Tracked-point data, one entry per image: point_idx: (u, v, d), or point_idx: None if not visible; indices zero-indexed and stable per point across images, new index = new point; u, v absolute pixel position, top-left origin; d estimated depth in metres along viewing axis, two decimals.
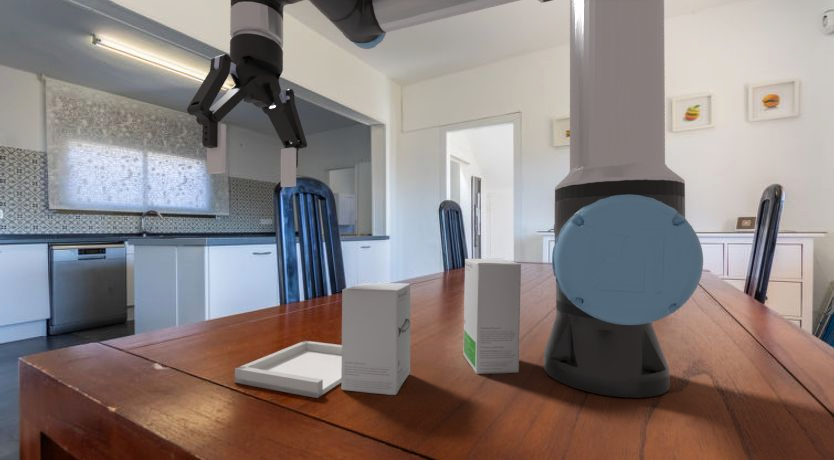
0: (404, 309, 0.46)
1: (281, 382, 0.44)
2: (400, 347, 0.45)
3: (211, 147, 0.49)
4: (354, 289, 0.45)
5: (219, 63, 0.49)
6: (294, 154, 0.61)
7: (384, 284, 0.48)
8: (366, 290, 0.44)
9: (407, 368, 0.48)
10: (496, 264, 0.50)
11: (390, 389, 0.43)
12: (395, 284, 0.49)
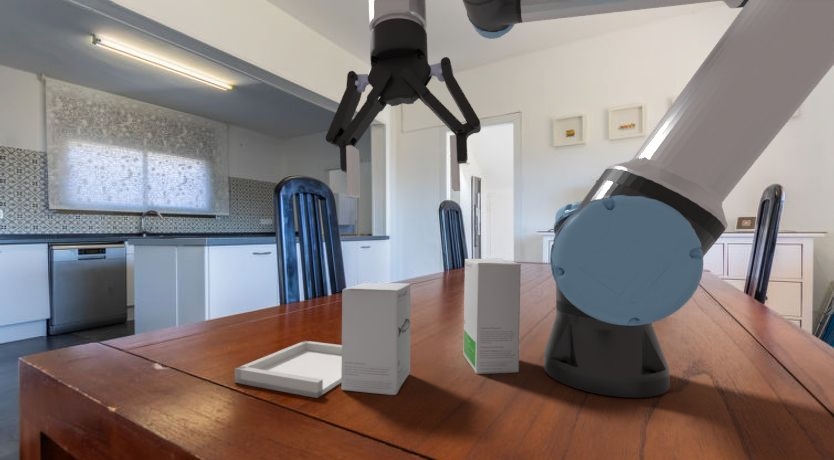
0: (404, 309, 0.46)
1: (281, 382, 0.44)
2: (400, 347, 0.45)
3: None
4: (354, 289, 0.45)
5: None
6: (452, 144, 0.44)
7: (384, 284, 0.49)
8: (366, 290, 0.44)
9: (407, 368, 0.48)
10: (496, 264, 0.50)
11: (390, 389, 0.43)
12: (395, 284, 0.49)
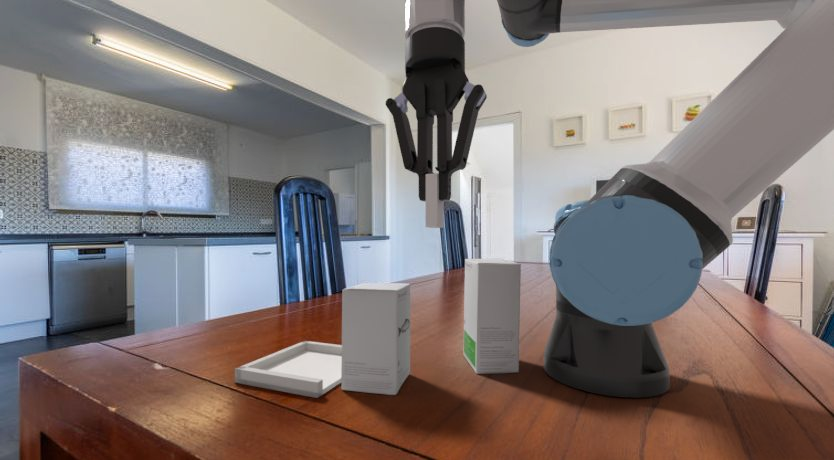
0: (404, 309, 0.46)
1: (281, 382, 0.44)
2: (400, 347, 0.45)
3: None
4: (354, 289, 0.45)
5: None
6: (433, 182, 0.44)
7: (384, 284, 0.48)
8: (366, 290, 0.44)
9: (407, 368, 0.48)
10: (496, 264, 0.50)
11: (390, 389, 0.43)
12: (395, 284, 0.49)
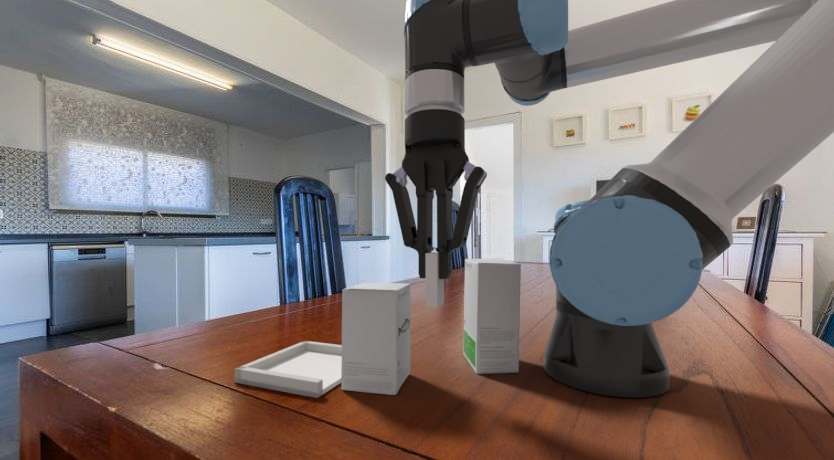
0: (404, 309, 0.46)
1: (281, 382, 0.44)
2: (400, 347, 0.45)
3: None
4: (354, 289, 0.45)
5: None
6: (433, 262, 0.43)
7: (384, 284, 0.49)
8: (366, 290, 0.44)
9: (407, 368, 0.48)
10: (496, 264, 0.50)
11: (390, 389, 0.43)
12: (395, 284, 0.49)
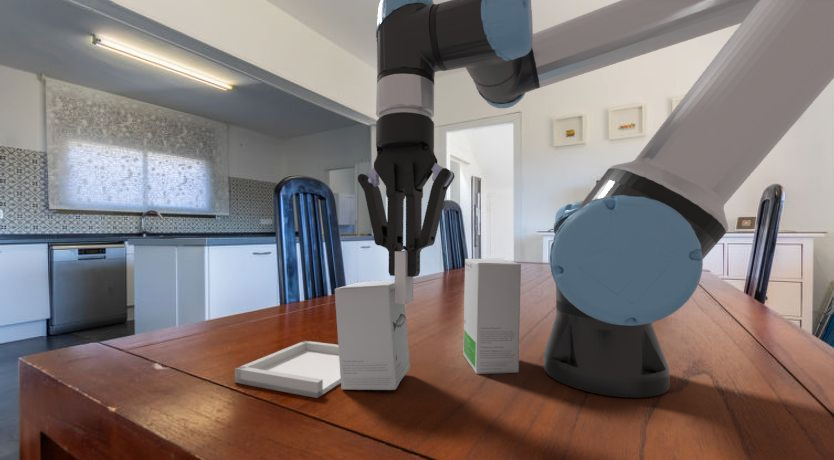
0: (398, 304, 0.47)
1: (281, 382, 0.44)
2: (397, 342, 0.45)
3: None
4: (346, 288, 0.45)
5: None
6: (402, 260, 0.45)
7: (376, 281, 0.49)
8: (358, 287, 0.45)
9: (406, 363, 0.48)
10: (496, 264, 0.50)
11: (389, 384, 0.43)
12: None
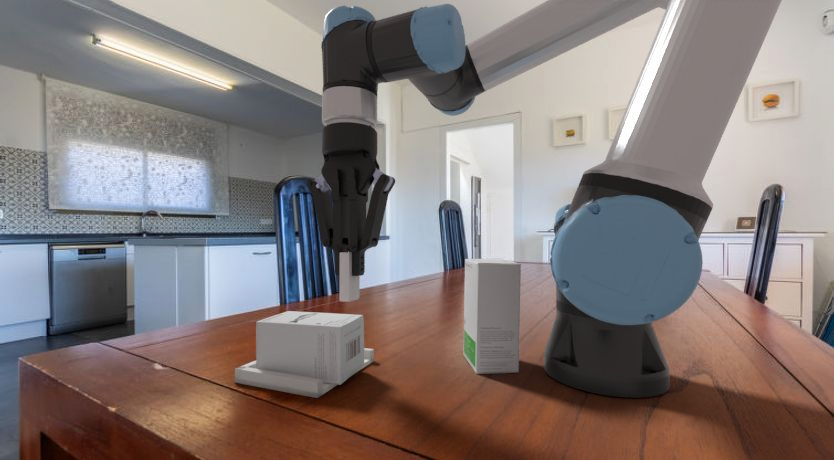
0: (289, 316, 0.50)
1: (281, 382, 0.44)
2: (310, 321, 0.47)
3: None
4: (256, 362, 0.48)
5: None
6: (346, 261, 0.48)
7: None
8: (256, 351, 0.48)
9: (349, 316, 0.50)
10: (496, 264, 0.50)
11: (335, 333, 0.45)
12: None
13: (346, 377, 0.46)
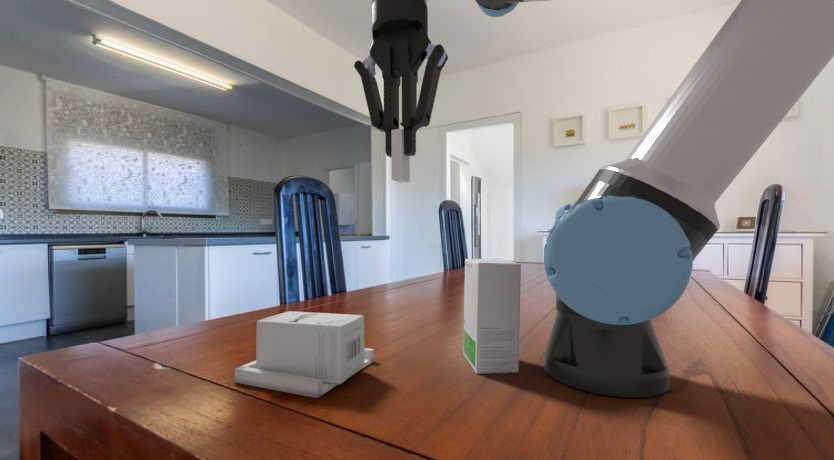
0: (289, 316, 0.50)
1: (281, 382, 0.44)
2: (310, 321, 0.48)
3: None
4: (256, 362, 0.48)
5: None
6: (399, 137, 0.47)
7: None
8: (257, 350, 0.48)
9: (350, 317, 0.50)
10: (496, 264, 0.50)
11: (336, 332, 0.45)
12: None
13: (346, 377, 0.46)
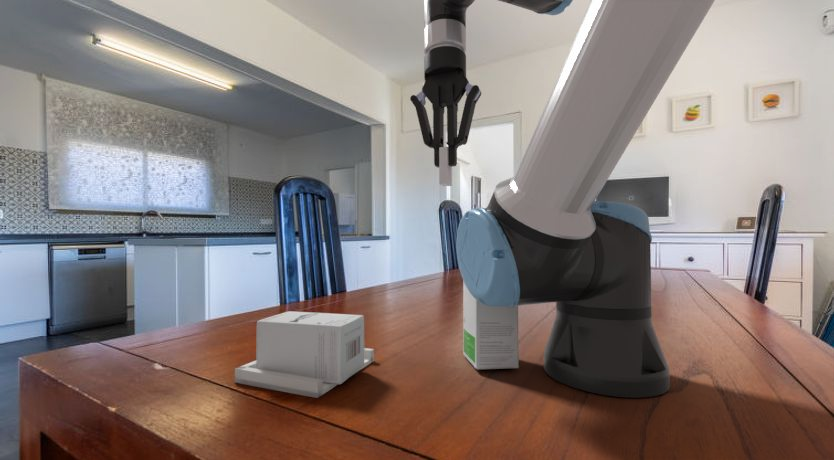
0: (289, 316, 0.50)
1: (281, 382, 0.44)
2: (310, 321, 0.48)
3: None
4: (256, 362, 0.48)
5: None
6: (445, 153, 0.63)
7: None
8: (257, 350, 0.48)
9: (350, 317, 0.50)
10: None
11: (336, 332, 0.45)
12: None
13: (346, 377, 0.46)
